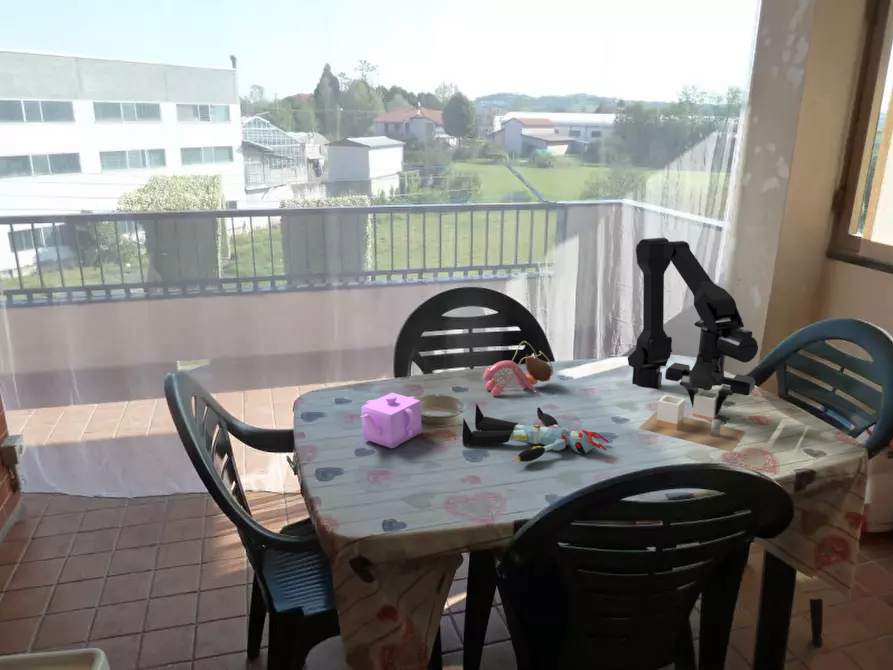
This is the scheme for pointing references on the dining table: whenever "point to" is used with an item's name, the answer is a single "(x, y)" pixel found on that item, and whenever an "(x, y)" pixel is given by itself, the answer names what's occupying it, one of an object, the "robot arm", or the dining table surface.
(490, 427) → the toy
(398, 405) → the teapot
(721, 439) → the pin board
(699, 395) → the sleeve loose
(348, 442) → the dining table surface
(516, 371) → the anatomy model
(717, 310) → the robot arm
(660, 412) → the sleeve seated
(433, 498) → the dining table surface
